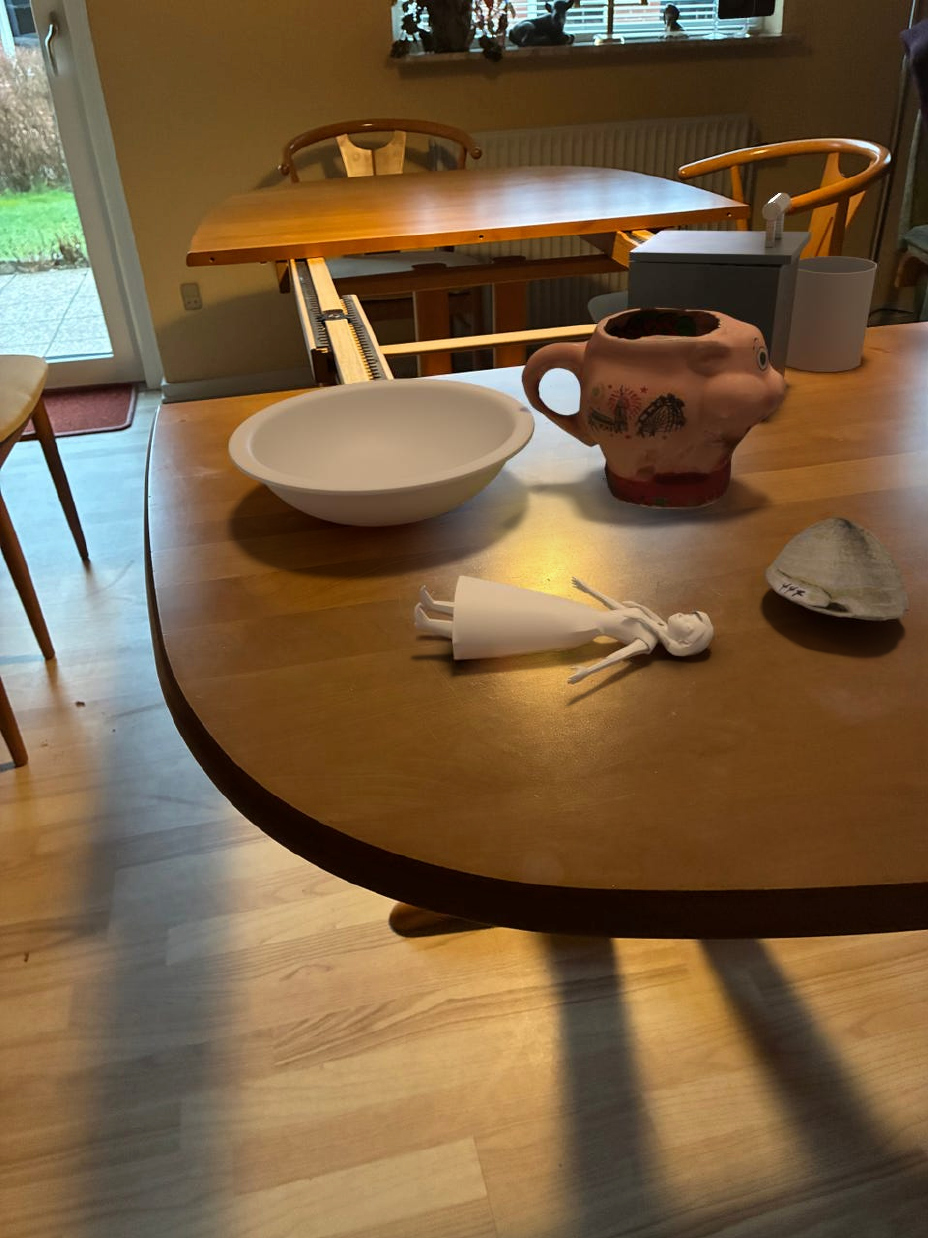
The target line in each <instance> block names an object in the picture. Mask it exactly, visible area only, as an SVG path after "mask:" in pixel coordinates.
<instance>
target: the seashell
mask: <svg viewBox="0 0 928 1238" xmlns="http://www.w3.org/2000/svg"><path fill="white" fill-rule="evenodd" d="M764 577H765V580H766V583H767V585H768V586H769V587H770V588H771V589H773V591H774V593H776V594H778V595H779V596H781V597H782V598H785V599H786V600H788V601H789V602H792V603H793V604H796V605H799V606H801V607H803V608H805V609H808V610H811V611H813V612H816V613H820V614H823V615H826V616H830V617H835V618H851V619H858V620H859V619H860V620H865V621H887V620H893V619H901V618H902V617H904V616H905V611H907V612H909V611H910V608H911V605H910V601H909V596H908V593H907V592H906V589H905V585H904V581H903V578H902V575H901V571H900V569H899V566H898V565H897V562H896V561H895V559H894V557H893V556H892V554H891V552H890V551H889V550H888V549H887V548H886V546H884V545H883V543H882V542H880V540H879V538H878V537H877V536H876V535H875V534H874V533H873V532H871V531H870V530H868V529H867V528H865V527H863V526H861V525H860V524H858V523H856V522H854V521H851V520H849V519H845V518H843V517H831V518H827V519H823V520H820V521H817V522H815V523H813V524H812V525H810V526H808V527H806V528H805V529H803V530H802V531H801V532H799V533H798V534H796V535H795V536H794V537H793V538H791V539H790V540H789V541H788V542H787V543H786V545H785V546H784V548H783V549H782V550H781V551H780V553H779V554H778V555H777V557H776V558H775V559H774V560H773V562H772V563H770V565H769V566H768V567H767V568H766V570H765V575H764Z"/></svg>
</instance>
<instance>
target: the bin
mask: <svg viewBox="0 0 928 1238" xmlns="http://www.w3.org/2000/svg"><path fill="white" fill-rule="evenodd" d="M800 257H801V253H800V254H799V255H798V256H797V257H796V259H795V260H794V261H793V262H792V264H791V265H784V264H775V265H774V266H762V265H737V264H724V263H692V262H647V261H629V262H628V276H627V277H628V279H627V281H628V283H627V305H626V306H627V307H626V308H627V310H626V311H628V310H633V309H641V308H670V309H682V310H703V311H714V312H719V313H722V314H725V315H727V316H729V317H731V318H734V319H736V320H738V321H741V322H744V323H748V324H751V325H753V326H755V327H757V328H758V329H759V330H760V332H761V334H762V336H763V339H764V341H765V346H766V348H767V350H768V359H769V363H770V365H771V366H772V368H773V369H774V370H775V371H776V372H778V373H779V374H781V375H782V376H783V378H784V379H785V375H786V367H787V366H786V360H787V352H788V344H789V336H790V328H791V320H792V312H793V304H794V296H795V289H796V281H797V273H798V265H799V260H800Z"/></svg>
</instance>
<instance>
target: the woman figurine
mask: <svg viewBox="0 0 928 1238" xmlns="http://www.w3.org/2000/svg"><path fill="white" fill-rule="evenodd" d="M571 578H572V579H571V584H572V586H571V587H572V588H575V589H577V590H579V591H580V592H582V593H584V594H588V595H590V596H591V597H593V598H594V599H595V600H597V601H599V602H600V603H602V604H603V606H605V607H606V608H608V609H609V610H606V611H602V610H600V609H598V608H595V607H593V606H590V605H588V604H585V603H583V602H579V601H576V600H574V599H569V598H566V597H563V596H558V595H554V594H550V593H545V592H542V591H537V590H533V589H530V588H525V587H521V586H516V585H511V584H507V583H502V582H497V581H491V580H487V579H482V578H477V577H473V576H472V577H471V576H467V575H463V574H462V575H461V574H460V575H459V577H458V579H457V582H456V588H455V593H454V601H448V600H447V601H446V600H434V599H433V597H432V596H431V595H430V594H429V592H428V591H427V590H426V585H423V586H422V587H420V590H419V600H420V601H418V603H417V604H416V605H415V607H414V610H413V618H414V620H415V621H414V623H413V628H414V629H416V630H419V631H421V632H426V633H431V634H434V635H438V636H441V637H444V638H448V639H451V641H452V642H451V644H452V651H453V660H455V661H463V660H482V659H483V660H485V659H486V660H487V659H499V658H500V659H503V658H505V659H506V658H516V657H522V656H530V655H538V654H545V653H553V652H560V651H568V650H574V649H576V648H578V647H582V646H585V645H587V644H589V643H590V642H592V641H594V640H595V639H596V638H599V637H604V636H605V637H608V638H612V639H613V640H617V641H619V642H621V643H622V644H624V645H626V646H625V647H623V648H620V649H617V651H614V652H613V653H611V654H609V655H608V656H606V657H604V658H603V659H602V660H601V661H599V662H596V663H595V664H593V665H591V666H589V667H584V666H580V665H578V666H571V667H570V669H571V670H572V671H575V670H577V672H576V673H574V674H572V675H570V676H567V679H568V680H567V681H566V683H567V685H575V684H578V683H580V682H581V681H583V680H584V679H585V678H587V677H589V676H591V675H593V674H596V673H599V672H600V671H603V670H605V669H607V668H610V667H612V666H615V665H617V664H620V663H621V662H623V661H624V660H626V659H629V658H631V657H634V656H637V655H641V654H644V655H650V654H651V652H652V651H653V650H654V649H655V647H656V645H657V644H658V642H661V644H662V645H663V647H664V648H665V649H666V650H667V651H666V652H669V653H670V654H672V655H673V656H678V657H689V656H695V655H697V654H699V653H701V652H703V651H704V650H705V649H707V648H708V646H709V645H710V643H711V641H712V639H713V637H714V633H715V632H714V626H713V624H712V623H711V619H710V617H709V616H708V614H707V613H705V612H704V611H698V610H692V611H690V614H684V613H681V612H676V613H674V614H672V615H670V616H669V617H668V619H667V622H666V621H664V620H662V618H661V617H660V616H658V614H656V613H655V612H653V611H652V610H650V609H649V608H648V607H646V606H645V605H642V604H638V603H636V602H635V601H634V600H625V601H620V602H618V601H617V600H615V599H613V598H612V597H609V596H607V595H606V594H603V593H601V592H600V591H598V590H597V589H594V588H593V587H591V586H590V585H589V584H588V583H586V582H585V581H583V580H581V579H580V578H577V577H575V576H572V577H571ZM625 605H626V606H625ZM627 606H629V607H627ZM424 611H426V612H432V613H436V614H440V615H444V616H447V617H451V618H452V620H445V619H434V618H430V617H428V616H427V614H426V613H425V612H424Z"/></svg>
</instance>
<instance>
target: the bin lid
mask: <svg viewBox="0 0 928 1238" xmlns="http://www.w3.org/2000/svg"><path fill="white" fill-rule="evenodd" d="M791 205H792V198H791V196H790V195H789V194H788V193H785V192H780V193H778V194H777V195H775V196H774V197H773V198H771V199H770V200H769V201H768V202H766V204H764V206H763V207H762V210H761V214H762V217H763V219H764V220H765V221H766V227H765V230H764V231H756V230H755V231H753V230H752V231H750V230H749V231H748V230H747V231H745V230H743V231H742V230H740V231H739V230H660V231H659V232H658V233H655V234H654V235H653V236H651V237H650V238H648V239H647V240H645V241H644V242H642V243H641V244H639V245H638V246H636V247H635V248H633V249H632V250H631V251H629V252H628V261H629V262H630V261H647V262H692V263H738V264H784V265H791V264H792V262H793V261H794V260H795V259H796V257H797V256H798V255H799V254H800V255H801V253H802V252H803V250H804V249H805V248H806V247H807V245H808V244H809V243H810V242H811V239H812V231H784V223H785V213H786V211H788V210H789V208H790V207H791Z"/></svg>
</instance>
